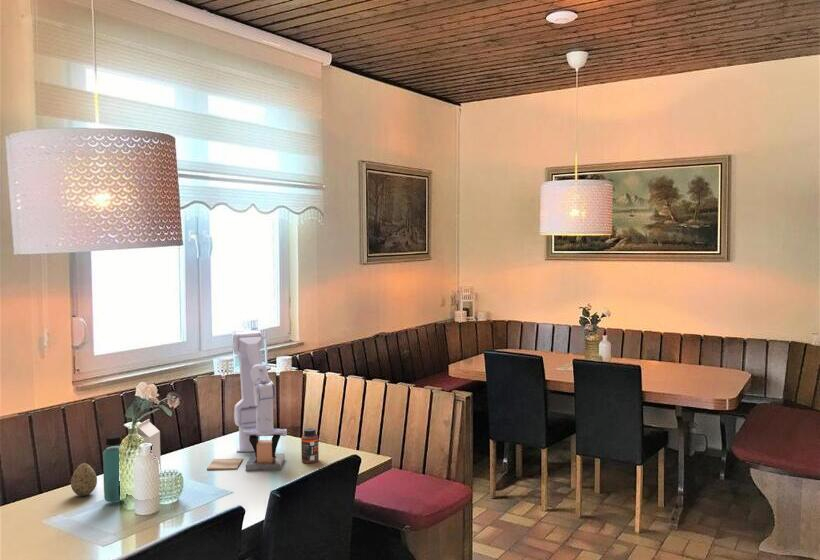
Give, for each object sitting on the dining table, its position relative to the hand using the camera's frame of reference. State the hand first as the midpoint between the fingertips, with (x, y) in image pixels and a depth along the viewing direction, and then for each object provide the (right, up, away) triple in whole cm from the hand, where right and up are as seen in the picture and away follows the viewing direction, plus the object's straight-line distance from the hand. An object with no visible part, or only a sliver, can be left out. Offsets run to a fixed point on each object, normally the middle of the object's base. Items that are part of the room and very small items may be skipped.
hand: (265, 456), depth 231 cm
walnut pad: (-14, -3, 0) cm, 14 cm away
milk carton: (-36, -4, -13) cm, 39 cm away
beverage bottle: (-37, -5, -33) cm, 50 cm away
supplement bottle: (+15, -3, +4) cm, 16 cm away
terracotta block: (0, -3, 0) cm, 3 cm away
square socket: (0, -3, 0) cm, 3 cm away
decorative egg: (-50, -5, -27) cm, 56 cm away
